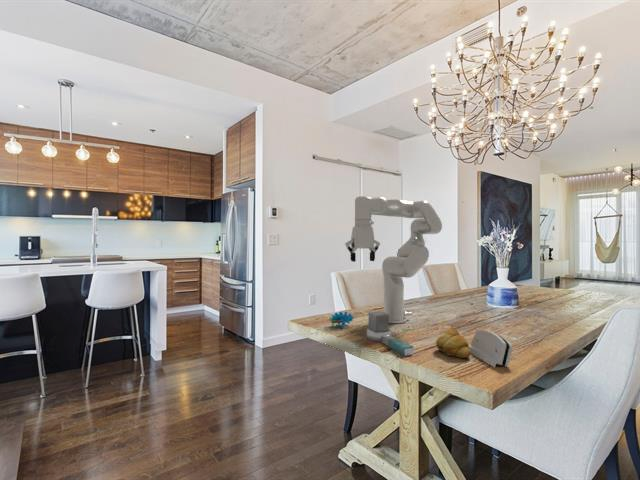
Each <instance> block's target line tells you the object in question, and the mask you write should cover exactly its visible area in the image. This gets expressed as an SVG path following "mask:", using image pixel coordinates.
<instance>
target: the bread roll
mask: <svg viewBox="0 0 640 480" xmlns="http://www.w3.org/2000/svg"><path fill="white" fill-rule="evenodd" d="M435 344H436V345H435V346H436V348H437V349H438V350H439V351H440V352H443V353H444V354H445V355H449V356H451V357H453V356H454V357H456V358H459V359H460V358H461V359H463V358H464V359H465V358H466V359H467V358H469V357H470V355H471V351H470V349H469V348H468V345H469V343H468V341H467V339H466V338H465V337H464V336H462V335H460V332H459V331H458V330H457V329H456V328H453V327H451V328H448V329H447V330H446V331H445V333H443V334H442V335H439V336H438V338H437V339H436V341H435Z"/></svg>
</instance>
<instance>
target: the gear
mask: <svg viewBox="0 0 640 480" xmlns="http://www.w3.org/2000/svg"><path fill="white" fill-rule="evenodd" d="M353 319H354V316H353V315H352V313H349V312H348V311H344V313H343V311H339V312H334V314H332V317H331V316H330V317H329V321H330V323H331V328H334V325H335V324H337V325H341V329H344V328H345V326H344V325H346V323H347V324H350V323H351V322H353Z"/></svg>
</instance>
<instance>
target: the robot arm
mask: <svg viewBox="0 0 640 480" xmlns="http://www.w3.org/2000/svg"><path fill="white" fill-rule="evenodd" d="M372 216H381V217H382V216H385V217H394V218H395V217H396V218H406V219H413V220H412V222H411V223H410V236H409V239H408V240H407V241H405V243H404V244H403V245H402V246H401V247H399V249H398V250H397V253H396V256H392V255H391V256H388V257H386V258H384V260H383V261H382V265H381V269H382V274H383V312H384V313H387V314H389V324H404V323H406V322H407V321H408V320H407V316H408V317H410V316H412V315H413V312H412V311H405V310H404V307H405V305H404V303H405V302H404V298H405V297H404V295H405V294H404V293H405V290H404V289H405V284H404V281H403V278H404V279H405V278H406V279H410V278H413V277H414V276H415V275H416V274H417V273H419V272H420V270H421V269H422V268H423V267H424V266H425V265H426V264H427V262H428V260H429V257H430V252H429V249H428V248H427V247H426V246H425V245H426V243H425V242H426V241H425V239H424V235H437V234H440V232H441V231H442V229H443V223H442V220H441V218H440V217H439V215H438V214H437V211H436V210H435V209H434V207H433V206H432V204H431V203H429V202H428V201H427V200H418V201H417V200H416V201H412V200H404V199H397V198H396V199H386V198H385V197H383V196H376V197H374V196H373V197H369V196H367V195H366V196H356V197H355V200H354V226H353V227H352V231H351V237H350V240H348V241H347V242H344V243H345V245H344V246H345V247H346V249H347V250H348V252H349V253H350V261H351V262H353V263H355V262H356V257H357V256H356V251H357V249H360V250H361V249H369V251H370V252H369V261H370V262H375V259H376V252H377V251H378V250H379V247H380V246H381V242H379V241H377V240H375V235H374V234H375V233H374V227H373V226H372V225H374V223H375V222H374V221H372Z"/></svg>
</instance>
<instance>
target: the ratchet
mask: <svg viewBox="0 0 640 480" xmlns="http://www.w3.org/2000/svg"><path fill="white" fill-rule="evenodd" d="M366 339H368V340H369V341H373V342H378V343H379V342H381V343H382V344H385V345H386V346H387V347H388V348H390V349H392V350H393V351H395V352H397V353H398V354H400V355H401V356H404V357H407V356H413V355H414V346H413V345H411V344H410V343H408V342H406V341H404V340H402V339H401V338H398V337H396V338H395V337H394V336H392V330H391V329H390V328H389V332H380V333H375V332H373V331H371V330H370V329H369V327H368V328H366Z"/></svg>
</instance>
